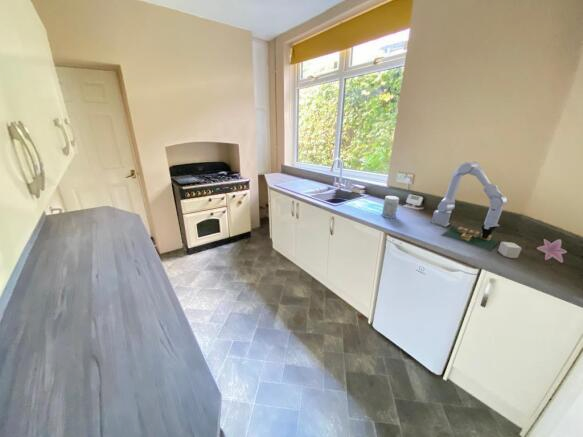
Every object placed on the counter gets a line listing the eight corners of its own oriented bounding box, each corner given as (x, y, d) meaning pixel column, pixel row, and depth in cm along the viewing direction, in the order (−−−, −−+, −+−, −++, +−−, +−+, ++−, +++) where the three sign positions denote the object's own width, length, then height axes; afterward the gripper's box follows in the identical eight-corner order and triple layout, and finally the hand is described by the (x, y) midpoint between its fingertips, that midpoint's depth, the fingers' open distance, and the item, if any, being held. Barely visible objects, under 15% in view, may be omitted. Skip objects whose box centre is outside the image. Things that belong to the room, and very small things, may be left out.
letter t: (467, 234, 146) (469, 231, 145) (470, 233, 149) (471, 229, 148) (476, 237, 143) (477, 233, 142) (478, 235, 146) (479, 232, 145)
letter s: (479, 238, 142) (480, 234, 141) (481, 236, 145) (483, 232, 144) (488, 240, 139) (489, 237, 138) (490, 238, 141) (491, 235, 140)
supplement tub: (382, 213, 181) (386, 194, 176) (395, 215, 177) (399, 196, 172) (381, 217, 173) (384, 198, 168) (394, 219, 169) (398, 200, 164)
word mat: (441, 235, 145) (441, 235, 145) (453, 228, 157) (453, 227, 157) (489, 251, 128) (489, 250, 128) (498, 241, 140) (499, 240, 140)
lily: (527, 256, 126) (541, 246, 118) (531, 242, 131) (546, 232, 124) (554, 270, 121) (571, 261, 113) (558, 255, 126) (574, 245, 119)
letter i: (456, 231, 151) (458, 228, 150) (459, 230, 153) (460, 226, 152) (464, 234, 148) (466, 230, 147) (467, 232, 150) (468, 228, 149)
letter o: (460, 238, 141) (461, 234, 140) (462, 236, 144) (464, 233, 143) (468, 241, 138) (470, 237, 137) (471, 239, 141) (472, 235, 140)
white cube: (509, 252, 127) (514, 242, 125) (517, 258, 122) (521, 248, 119) (497, 251, 128) (501, 241, 126) (504, 256, 123) (508, 246, 120)
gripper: (498, 220, 129) (490, 242, 134) (505, 215, 138) (497, 236, 143) (483, 217, 134) (475, 238, 139) (490, 212, 143) (483, 232, 148)
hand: (485, 237), depth 141 cm, fingers closed on letter s, 4 cm apart
